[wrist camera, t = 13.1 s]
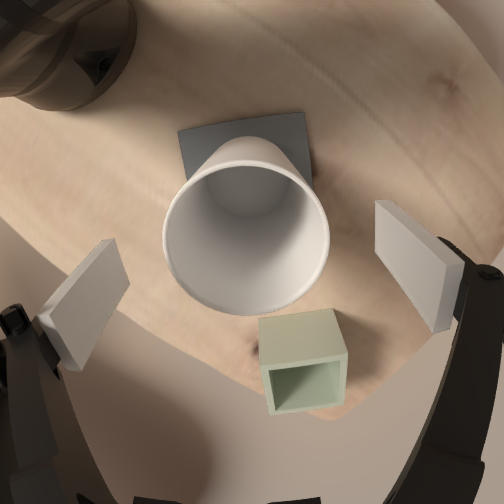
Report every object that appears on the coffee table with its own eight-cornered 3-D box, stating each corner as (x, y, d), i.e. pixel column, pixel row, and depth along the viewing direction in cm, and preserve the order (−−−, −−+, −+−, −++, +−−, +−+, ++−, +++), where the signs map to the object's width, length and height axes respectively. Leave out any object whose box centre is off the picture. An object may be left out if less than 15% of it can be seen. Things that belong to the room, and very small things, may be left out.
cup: (291, 135, 28) (334, 160, 13) (291, 217, 31) (324, 313, 17) (203, 138, 28) (151, 166, 13) (209, 220, 31) (174, 317, 17)
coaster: (178, 131, 28) (177, 131, 27) (303, 112, 27) (304, 111, 27) (202, 243, 33) (201, 246, 32) (315, 228, 32) (316, 230, 32)
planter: (258, 318, 37) (259, 365, 30) (332, 308, 37) (348, 353, 29) (267, 369, 41) (269, 415, 34) (332, 360, 40) (343, 404, 33)
